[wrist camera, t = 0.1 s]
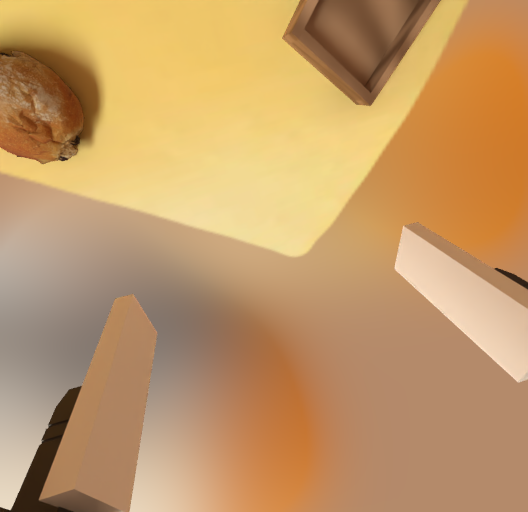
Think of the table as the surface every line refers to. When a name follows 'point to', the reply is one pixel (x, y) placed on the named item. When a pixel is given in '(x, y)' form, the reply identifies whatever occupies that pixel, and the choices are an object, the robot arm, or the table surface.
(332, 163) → the table surface
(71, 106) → the bread roll
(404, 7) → the walnut crate
